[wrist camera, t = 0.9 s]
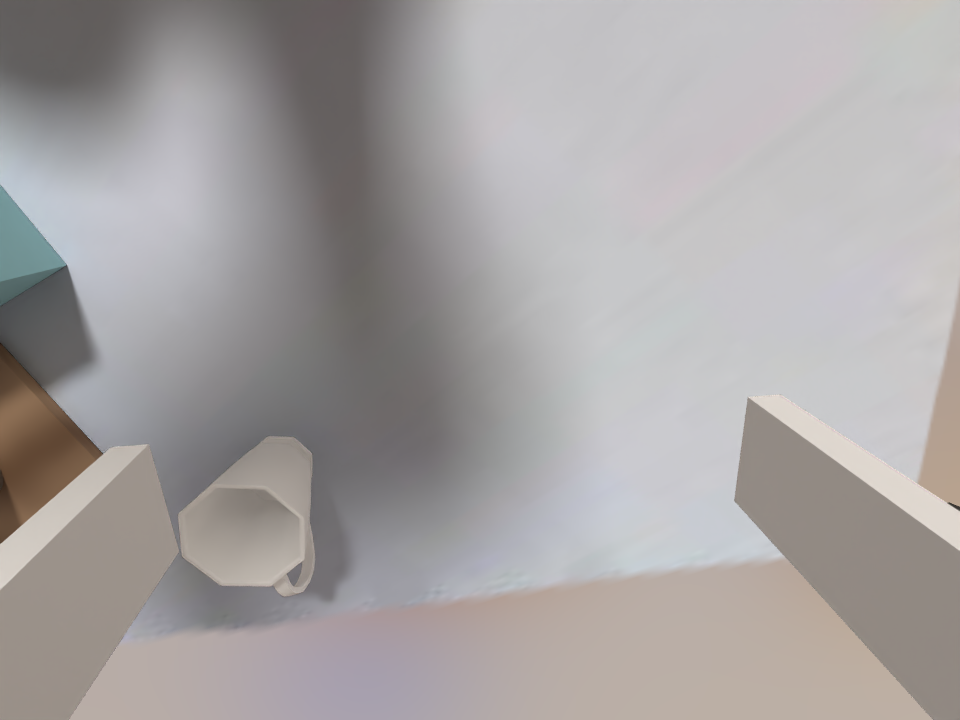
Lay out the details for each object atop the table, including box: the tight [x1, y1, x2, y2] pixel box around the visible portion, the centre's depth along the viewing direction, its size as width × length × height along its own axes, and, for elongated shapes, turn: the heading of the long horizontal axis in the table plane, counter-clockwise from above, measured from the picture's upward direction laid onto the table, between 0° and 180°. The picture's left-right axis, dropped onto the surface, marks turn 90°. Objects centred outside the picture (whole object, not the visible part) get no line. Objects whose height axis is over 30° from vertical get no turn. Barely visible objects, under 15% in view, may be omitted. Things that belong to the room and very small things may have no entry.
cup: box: [178, 436, 315, 597], centre depth 34 cm, size 7×10×8 cm
